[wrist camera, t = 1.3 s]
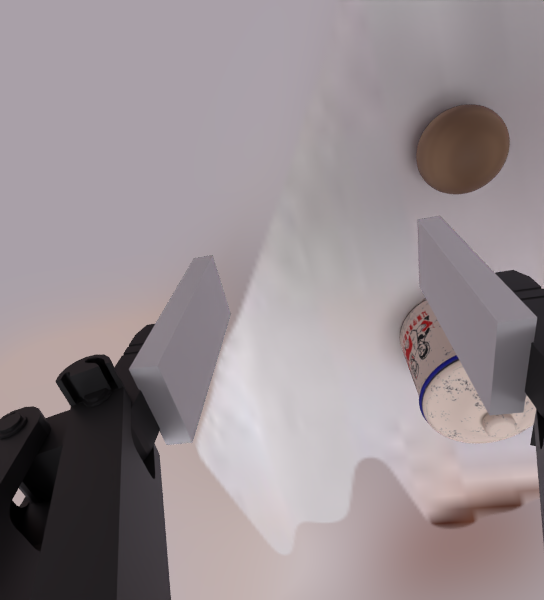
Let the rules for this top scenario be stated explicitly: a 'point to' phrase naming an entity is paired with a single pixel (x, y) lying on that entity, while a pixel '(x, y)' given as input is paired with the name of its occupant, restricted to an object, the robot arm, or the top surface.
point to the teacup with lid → (451, 386)
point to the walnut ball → (462, 149)
